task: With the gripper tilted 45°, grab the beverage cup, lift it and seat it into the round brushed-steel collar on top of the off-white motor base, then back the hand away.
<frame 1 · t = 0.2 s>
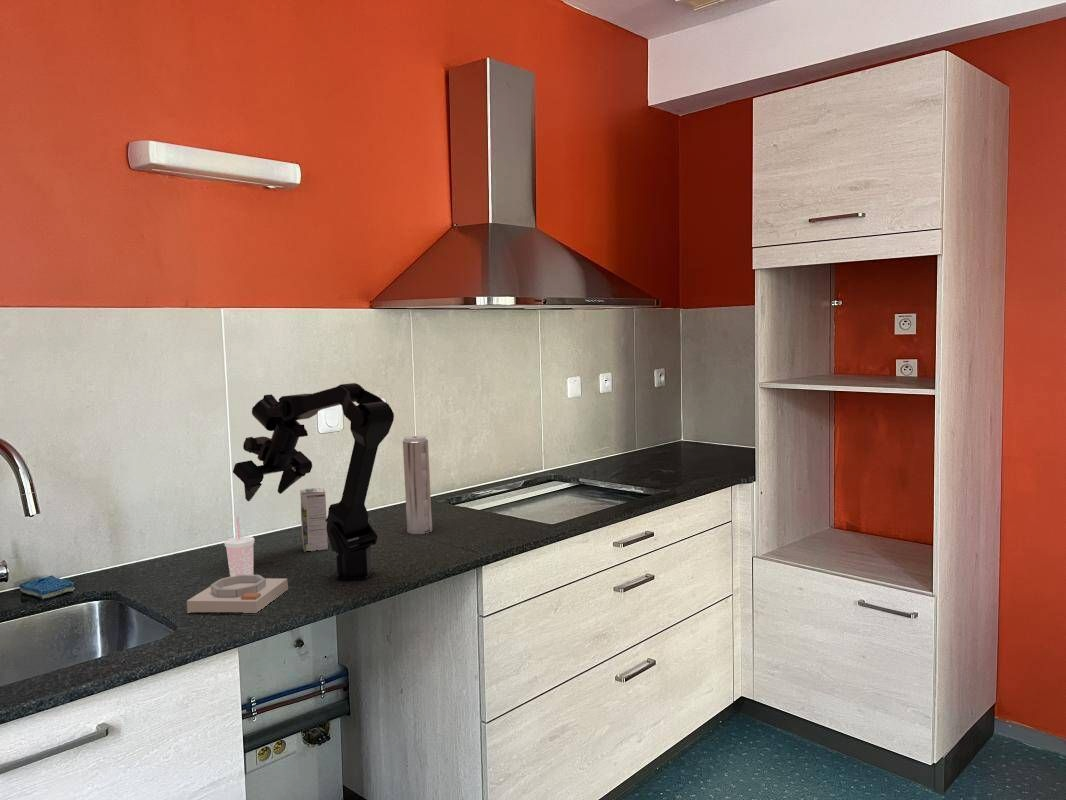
hand: (263, 496, 193), 15 cm above the countertop, tool tilted 30°, fingers open, 9 cm apart
syrup box: (315, 549, 201), on the countertop
motor base: (239, 601, 162), on the countertop
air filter: (419, 532, 214), on the countertop
beverage cup: (242, 582, 176), on the countertop
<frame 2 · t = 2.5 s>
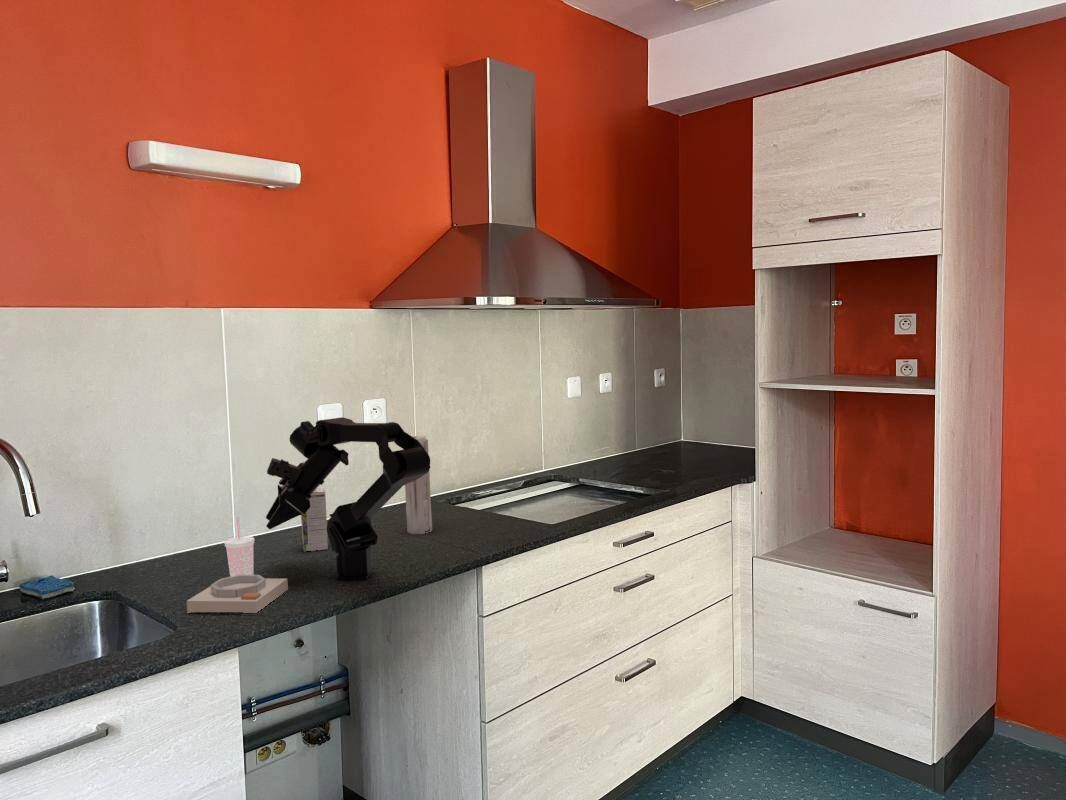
hand: (267, 523, 177), 12 cm above the countertop, tool tilted 45°, fingers open, 9 cm apart
nothing on the countertop moved.
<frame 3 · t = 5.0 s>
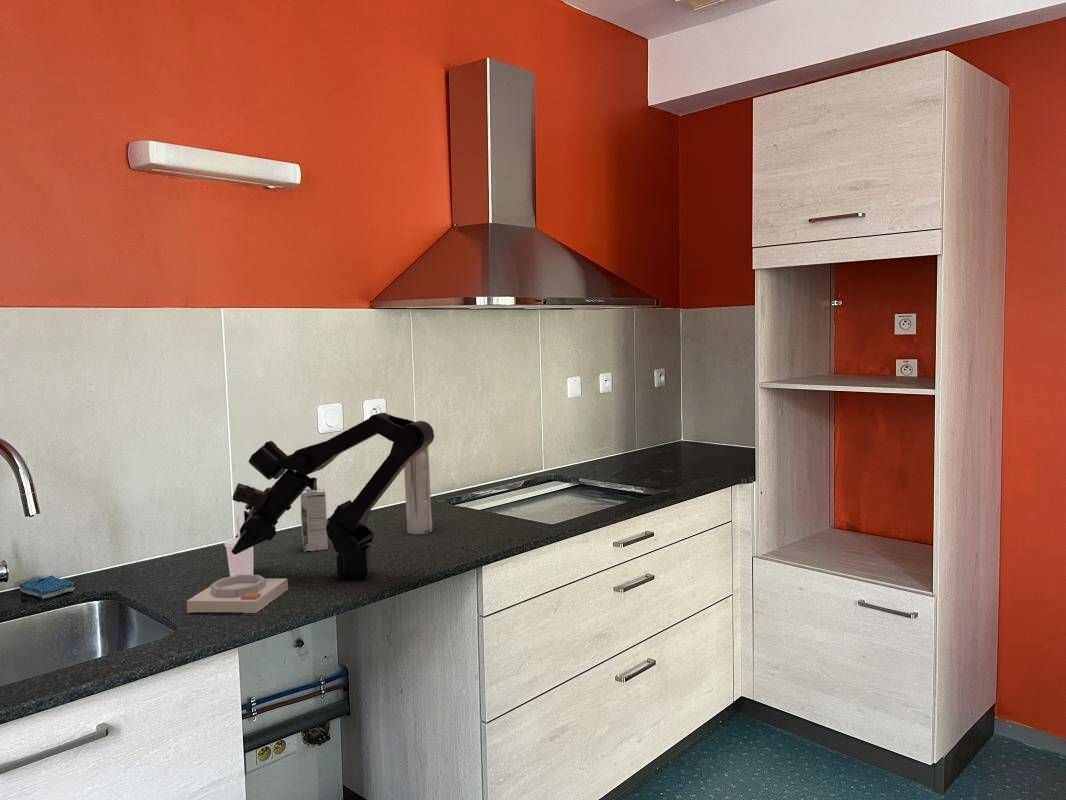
hand: (233, 549, 175), 7 cm above the countertop, tool tilted 45°, fingers closed on beverage cup, 6 cm apart
beverage cup: (242, 582, 176), on the countertop, touching gripper
everything else where it was.
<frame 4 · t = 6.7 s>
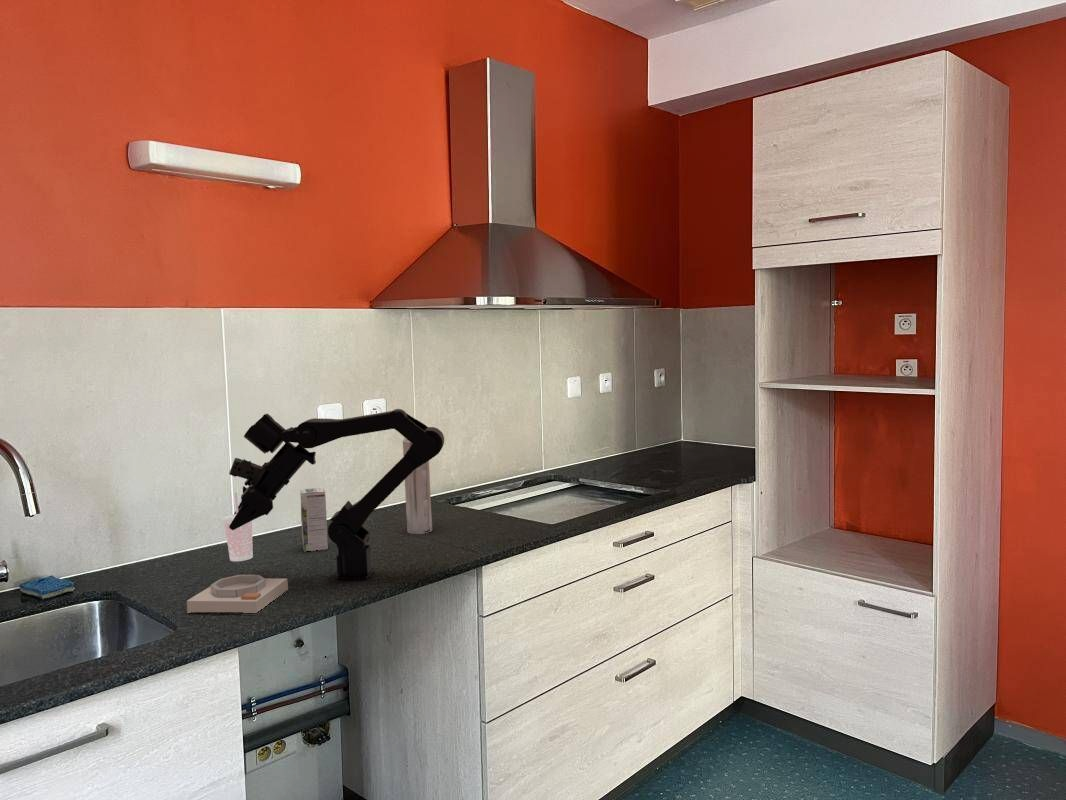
hand: (231, 525, 171), 13 cm above the countertop, tool tilted 45°, fingers closed on beverage cup, 6 cm apart
beverage cup: (241, 559, 172), point 6 cm above the countertop, touching gripper
everything else where it was.
when the fingers open (10 cm above the countertop, at t = 8.6 s): beverage cup stays where it is, resting on motor base.
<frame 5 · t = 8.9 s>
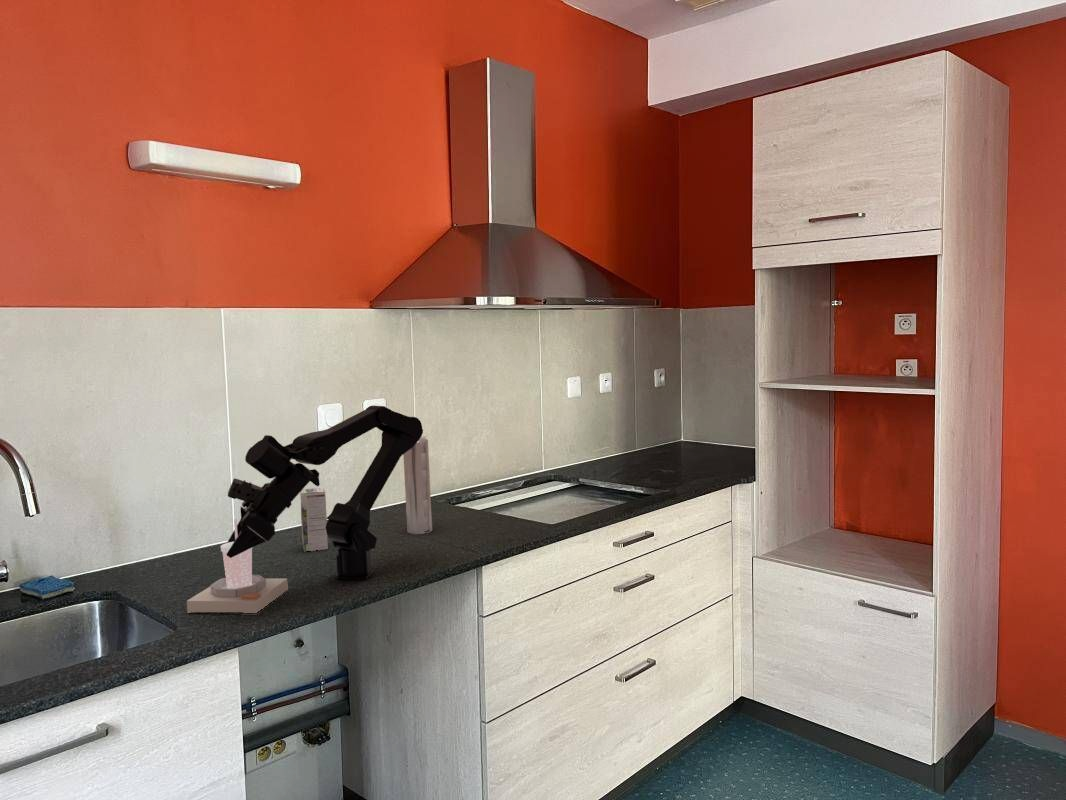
hand: (228, 550, 161), 11 cm above the countertop, tool tilted 45°, fingers open, 9 cm apart
beverage cup: (239, 590, 162), point 2 cm above the countertop, touching motor base
everything else where it was.
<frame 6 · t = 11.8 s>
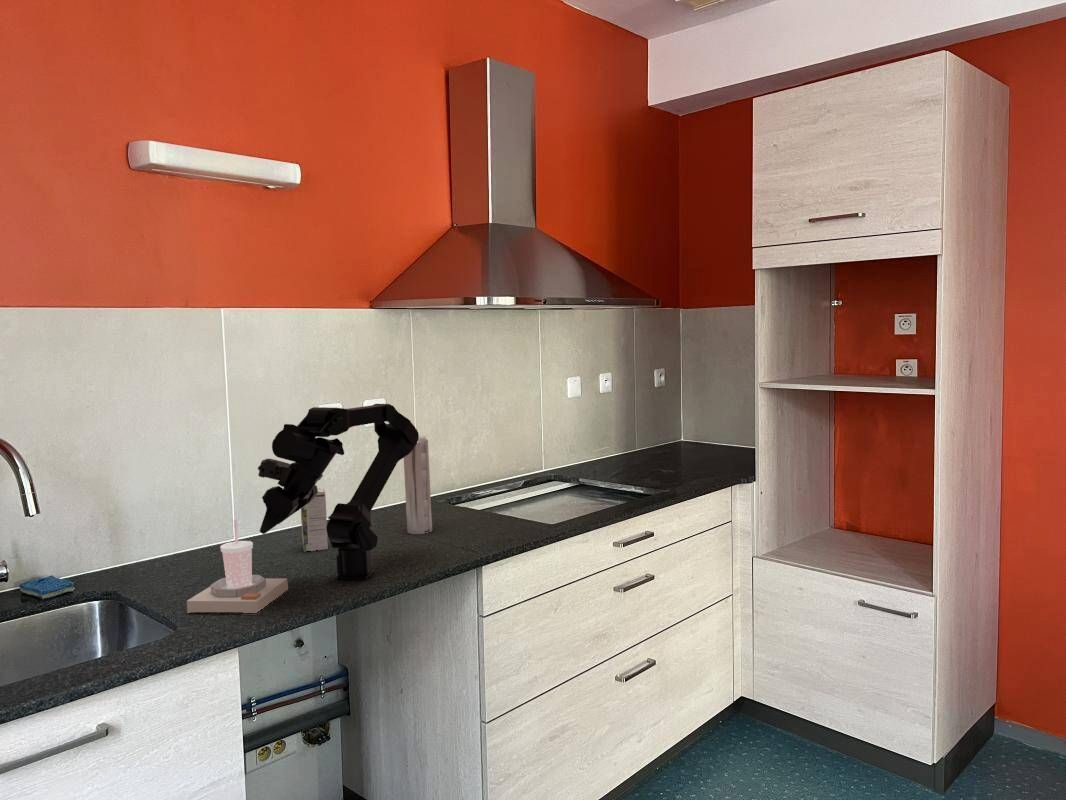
hand: (269, 527, 167), 13 cm above the countertop, tool tilted 35°, fingers open, 9 cm apart
nothing on the countertop moved.
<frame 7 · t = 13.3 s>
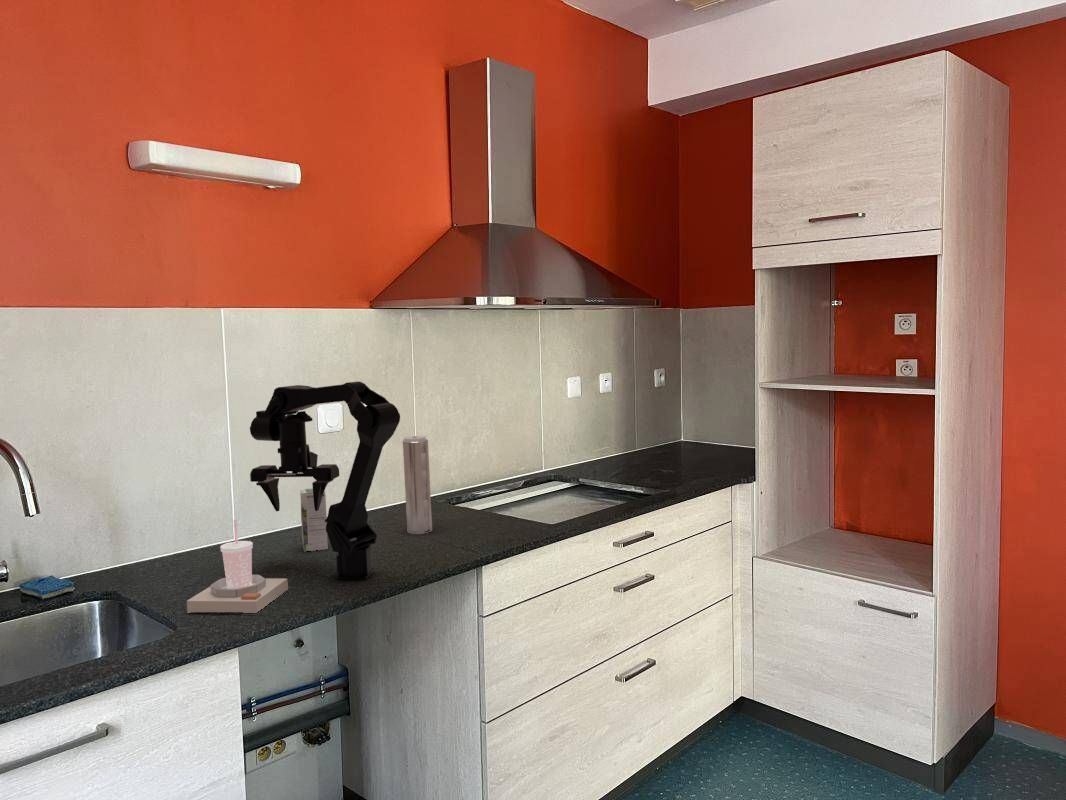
hand: (297, 510, 183), 13 cm above the countertop, tool pointing down, fingers open, 9 cm apart
nothing on the countertop moved.
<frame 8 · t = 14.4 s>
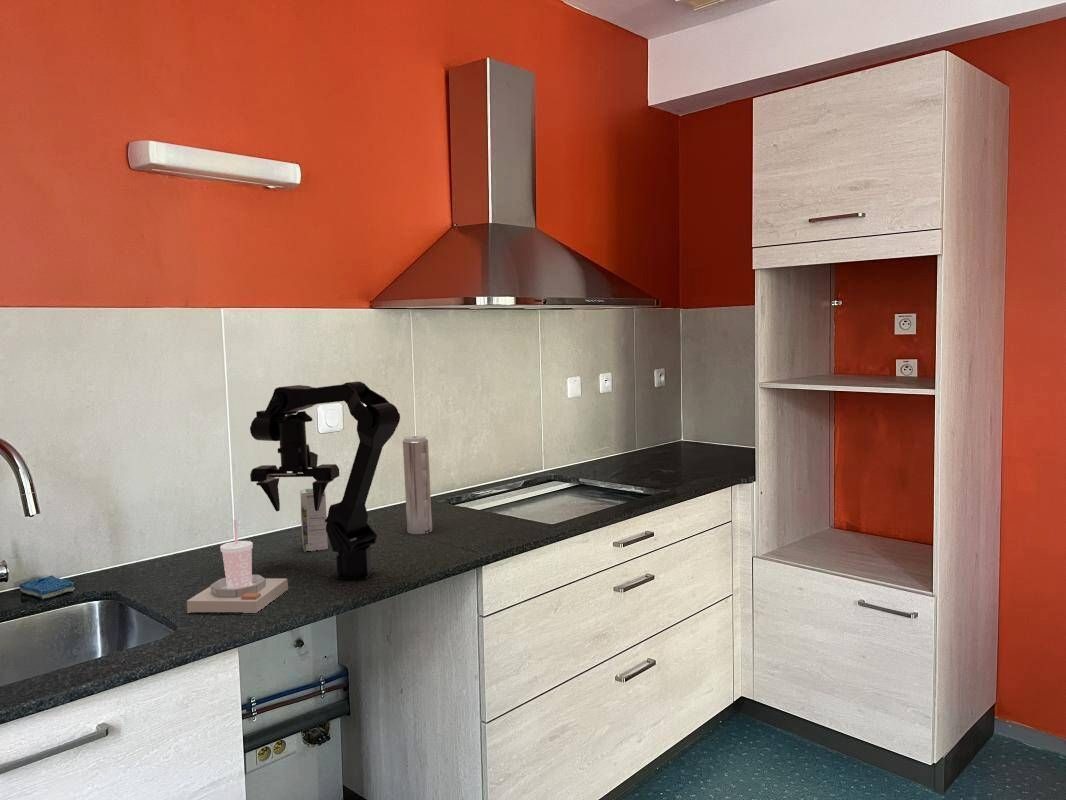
hand: (297, 510, 183), 13 cm above the countertop, tool pointing down, fingers open, 9 cm apart
nothing on the countertop moved.
at the end: beverage cup 0.1 cm off-centre on the motor base, point 2.3 cm above the motor base's base; beverage cup tilted 0°; the gripper is holding nothing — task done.
